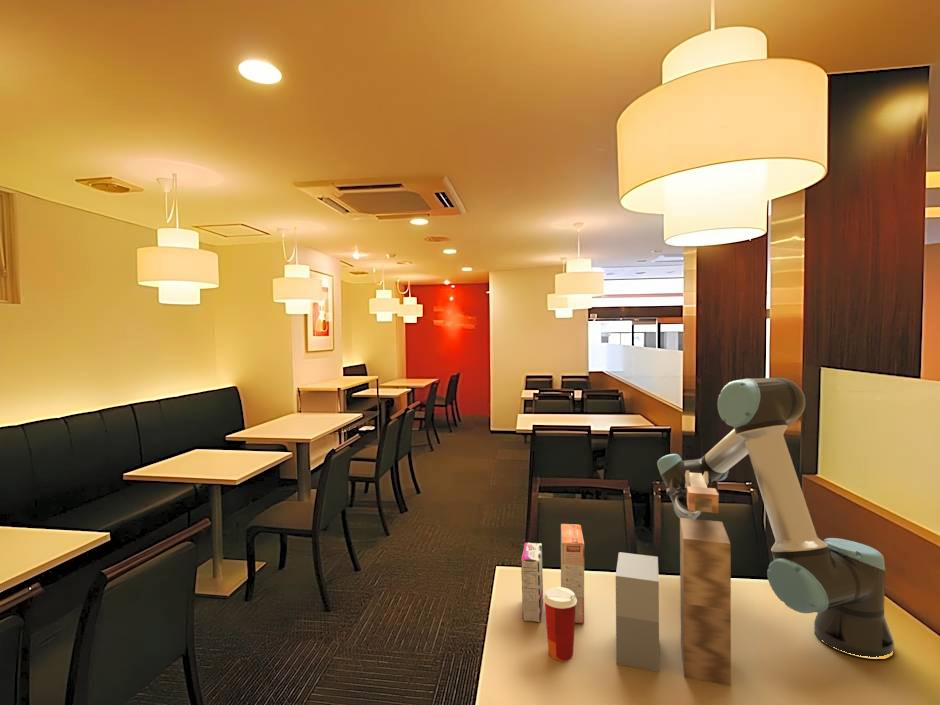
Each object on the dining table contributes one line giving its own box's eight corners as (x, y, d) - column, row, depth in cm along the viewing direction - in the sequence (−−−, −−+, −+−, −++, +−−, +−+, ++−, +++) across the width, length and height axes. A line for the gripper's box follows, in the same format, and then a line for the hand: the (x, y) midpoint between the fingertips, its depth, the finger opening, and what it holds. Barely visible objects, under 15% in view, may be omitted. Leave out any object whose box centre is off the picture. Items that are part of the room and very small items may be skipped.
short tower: (658, 638, 123) (657, 556, 122) (659, 672, 110) (658, 581, 110) (619, 631, 126) (618, 552, 125) (616, 663, 113) (615, 575, 113)
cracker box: (585, 624, 129) (585, 543, 128) (561, 623, 130) (560, 542, 129) (582, 596, 143) (581, 523, 142) (560, 595, 144) (559, 522, 143)
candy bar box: (525, 599, 142) (524, 541, 141) (543, 601, 141) (542, 542, 140) (521, 621, 131) (520, 558, 131) (541, 623, 130) (540, 560, 130)
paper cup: (582, 649, 119) (581, 590, 118) (571, 668, 112) (570, 605, 112) (550, 639, 123) (549, 582, 122) (538, 657, 116) (537, 597, 116)
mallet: (706, 485, 132) (706, 469, 132) (718, 513, 111) (718, 494, 111) (681, 483, 134) (681, 468, 134) (688, 510, 113) (688, 492, 113)
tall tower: (722, 649, 118) (722, 521, 117) (730, 685, 106) (730, 543, 105) (680, 642, 121) (679, 517, 120) (684, 676, 109) (683, 538, 108)
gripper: (723, 514, 140) (736, 494, 121) (659, 509, 146) (661, 488, 126) (721, 487, 144) (733, 463, 124) (659, 483, 149) (661, 459, 129)
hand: (697, 476), depth 125 cm, fingers closed on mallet, 3 cm apart
